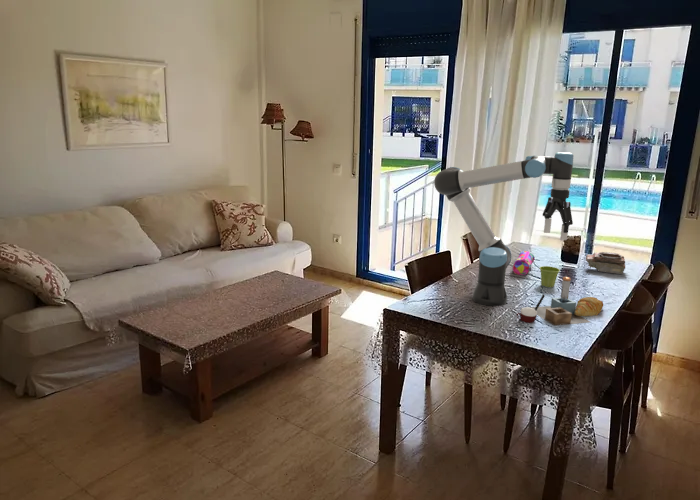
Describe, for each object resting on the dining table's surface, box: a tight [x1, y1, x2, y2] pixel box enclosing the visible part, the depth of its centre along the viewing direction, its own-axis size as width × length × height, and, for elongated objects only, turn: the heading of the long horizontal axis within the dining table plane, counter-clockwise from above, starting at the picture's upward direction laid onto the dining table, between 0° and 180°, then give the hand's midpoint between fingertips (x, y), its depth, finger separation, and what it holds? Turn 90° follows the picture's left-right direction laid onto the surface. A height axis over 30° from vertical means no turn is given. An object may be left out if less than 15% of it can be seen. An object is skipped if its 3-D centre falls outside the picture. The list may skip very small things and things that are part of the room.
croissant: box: [574, 296, 604, 317], centre depth 228 cm, size 21×10×8 cm, turn 130°
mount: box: [545, 307, 572, 324], centre depth 217 cm, size 7×7×4 cm
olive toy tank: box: [585, 251, 626, 275], centre depth 286 cm, size 13×20×10 cm, turn 61°
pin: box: [559, 276, 572, 303], centre depth 225 cm, size 3×3×15 cm
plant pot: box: [539, 265, 561, 288], centre depth 262 cm, size 9×9×9 cm
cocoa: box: [516, 294, 546, 324], centre depth 215 cm, size 10×6×12 cm
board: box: [531, 305, 591, 327], centre depth 223 cm, size 17×20×1 cm
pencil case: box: [512, 250, 535, 276], centre depth 287 cm, size 22×9×9 cm, turn 157°
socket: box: [550, 297, 577, 314], centre depth 227 cm, size 7×7×5 cm
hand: (554, 236), depth 236 cm, fingers open, 13 cm apart
